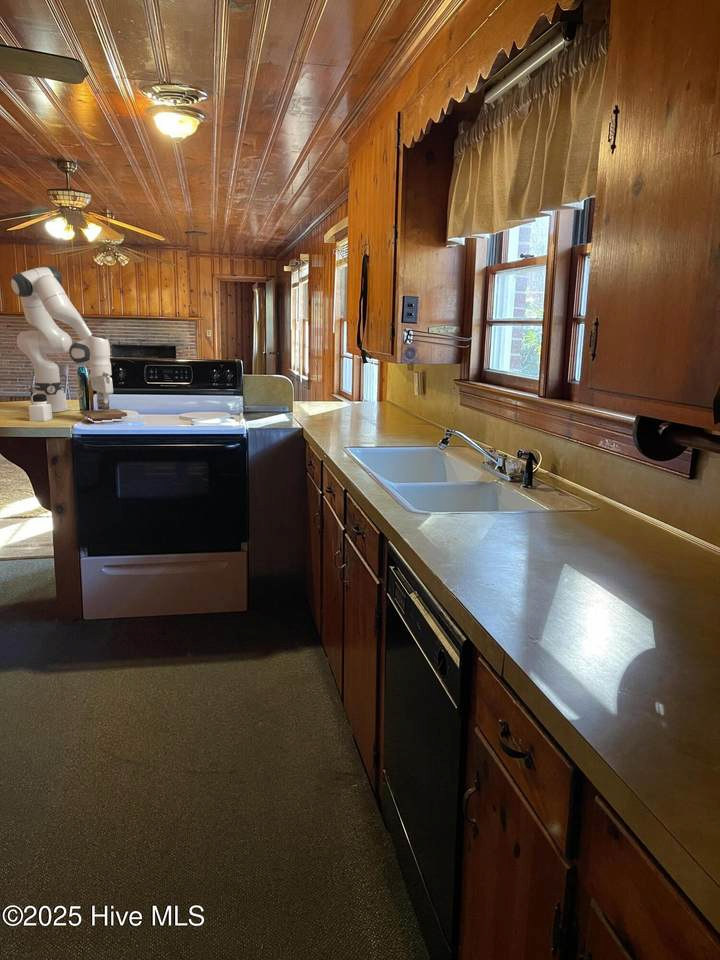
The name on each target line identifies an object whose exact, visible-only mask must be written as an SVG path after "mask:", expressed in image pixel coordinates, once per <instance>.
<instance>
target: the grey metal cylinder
mask: <svg viewBox="0 0 720 960" xmlns="http://www.w3.org/2000/svg"><path fill="white" fill-rule="evenodd" d="M96 403H97V410H107V409H110V396H108V403H103V393H97V392H96Z"/></svg>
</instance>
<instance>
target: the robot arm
mask: <svg viewBox="0 0 720 960" xmlns="http://www.w3.org/2000/svg"><path fill="white" fill-rule="evenodd" d="M10 284H11V289H12V291H13V292H14V294H15V295H17V296H18V297H20V301H21V306H22V309H23V313H24V318H25V320H26V322H27V323H28V324H29V325H31V326H34V328H36V329H37V330H26V331H21V332H19V333H18V335H17V337H16V345H17V347H18V349H19V350H20V351H21V352H23V354H24V355H26V356H27V358H29V360H30V362H31V364H32V366H33V372H34V378H35V382H34V390H35V391H34V394H45V395H46V396H47V403H46V404H51V407H52V413H59V412H66V411H70V410H71V407H69V406H68V405H67V404H68V403H67V397H66V393H65V392H64V391H62V388H63V387H62V386H63V385H62V382H61V378H60V377H61V376H60V375H61V374H60V368H59V365H58V364H57V363H55V362H54V361H51V360H50V359H49V357H48V355H51V354H52V355H61V354H66V353H68V354H69V357H70V359H71V361H73V362H74V363H76V364H89V369H88V375H89V376H90V377H89V379H90V386H91V389H92V391H94V392H96V394H97V393H103V403H108V396H109V395H112V394H113V393H114V387H113V386H114V385H113V384H114V383H113V378H112V377H111V376H112V375H113V374H112V373H113V372H112V363H111V347H110V345H111V344H110V341H109V339H108V337H106V336H105V335H102V334H96V333H95V334H94V332H93V331H92V329H91V328H90V326H89V324H88V323H87V322H86V320H85V319H84V317H83V315H82V314H81V313H80V312H79V311H78V310H77V308H76V307H75V306H74V304H73V303H72V302H71V300H70V299H69V297H68V295H67V293H66V291H65V289H64V287H63V286H62V284H63V277H62V274H61V273H60V270H58V268H56V266H53V265H48V266H47V265H46V266H41V267H35V268H32V269H29V270H25V271H22V272H17V273H15V274H13V275H12V276H11V279H10ZM54 320H57V321H60V322H63V323H64V324H67V325H69V326H70V327H71V328H72V329H73V330H74V332H75V333H76V335H77V336H78V338H79V339H80V341H76V342H74V343H73V339H72V338H71V335H69V333H67V332H66V331H64V330H63V329H61V328H60V327H59V326H58V324H57V323H56V322H55V321H54ZM109 397H110V396H109ZM29 400H30V403H31V405H33V403H32V397H30V399H29Z"/></svg>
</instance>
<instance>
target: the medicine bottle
mask: <svg viewBox="0 0 720 960" xmlns="http://www.w3.org/2000/svg"><path fill="white" fill-rule="evenodd" d="M31 398H32V403H33V405H32V403H31V405H28V414H29V415H28V416H29V421H30V422H42V421H45V422H47V421H52V420H53V412H52V407H51V404H46V403H47V396H46V395H45V394H32V395H31Z"/></svg>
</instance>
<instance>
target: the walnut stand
mask: <svg viewBox="0 0 720 960" xmlns="http://www.w3.org/2000/svg"><path fill="white" fill-rule="evenodd" d="M80 412H81V413H80V414H81V416H83V417H86V418H90V419H92V420H93V421H102V420H112V419H122V418H124V417H125V418H126V417H128V413H127V412H125V411H122V410H120V409H117V408H109V409H106V410H99V409H93V410H81V411H80Z"/></svg>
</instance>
